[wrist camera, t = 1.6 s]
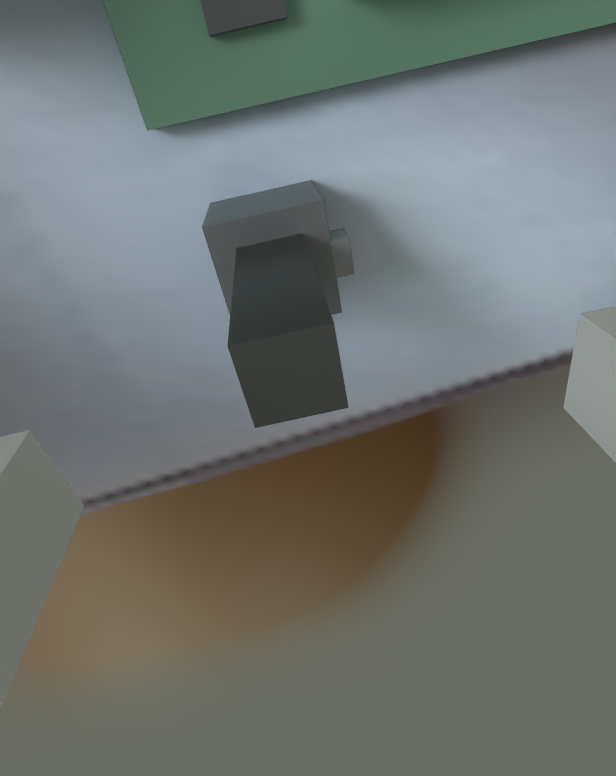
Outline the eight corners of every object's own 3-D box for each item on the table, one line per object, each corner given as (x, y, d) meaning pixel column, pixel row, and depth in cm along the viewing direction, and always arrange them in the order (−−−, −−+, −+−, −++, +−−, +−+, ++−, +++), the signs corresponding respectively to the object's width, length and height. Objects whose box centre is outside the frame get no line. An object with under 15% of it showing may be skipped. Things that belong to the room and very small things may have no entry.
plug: (238, 297, 24) (229, 462, 14) (210, 203, 22) (171, 317, 11) (342, 274, 24) (414, 422, 14) (327, 176, 22) (403, 265, 11)
